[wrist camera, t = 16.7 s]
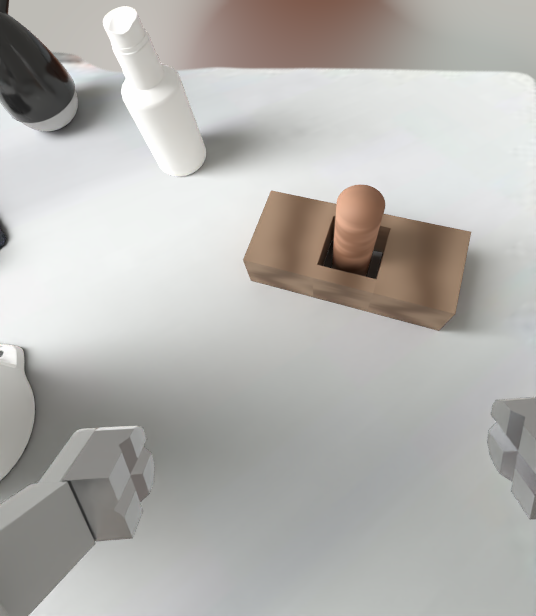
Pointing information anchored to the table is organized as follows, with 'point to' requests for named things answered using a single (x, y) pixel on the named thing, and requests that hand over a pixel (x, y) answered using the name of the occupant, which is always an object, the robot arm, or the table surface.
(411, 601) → the table surface
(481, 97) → the table surface
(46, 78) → the pump dispenser
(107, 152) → the table surface
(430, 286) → the socket block
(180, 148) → the white bottle
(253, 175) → the table surface
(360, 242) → the peg
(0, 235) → the dark slate chunk
